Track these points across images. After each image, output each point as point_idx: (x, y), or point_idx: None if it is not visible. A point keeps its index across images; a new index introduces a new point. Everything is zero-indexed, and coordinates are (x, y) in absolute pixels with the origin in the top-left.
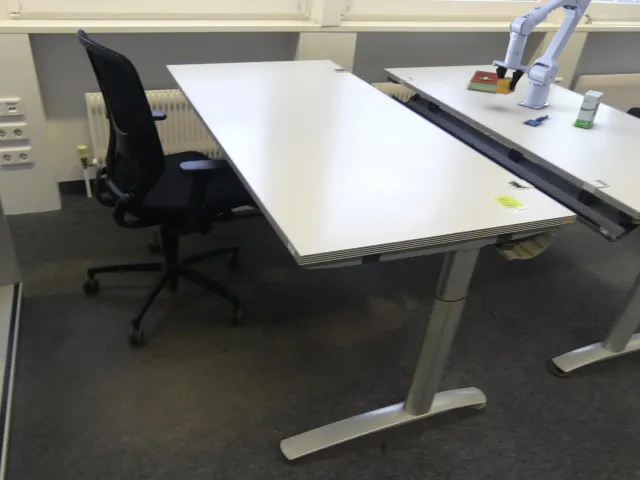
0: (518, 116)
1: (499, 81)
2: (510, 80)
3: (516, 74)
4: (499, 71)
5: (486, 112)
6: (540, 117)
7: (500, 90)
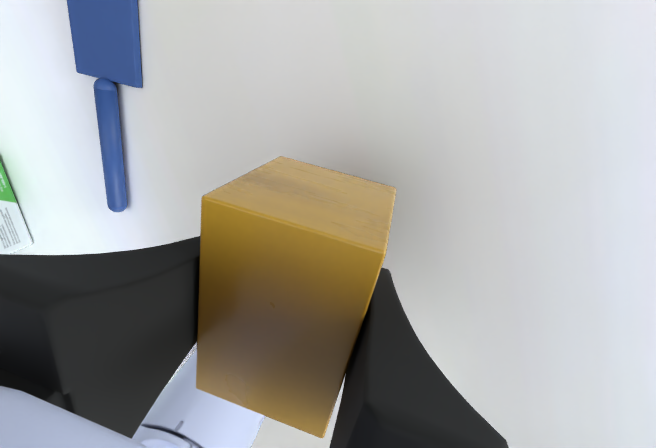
0: (220, 126)
1: (360, 228)
2: (216, 275)
3: (5, 264)
4: (404, 401)
5: (416, 58)
6: (100, 127)
7: (337, 180)
